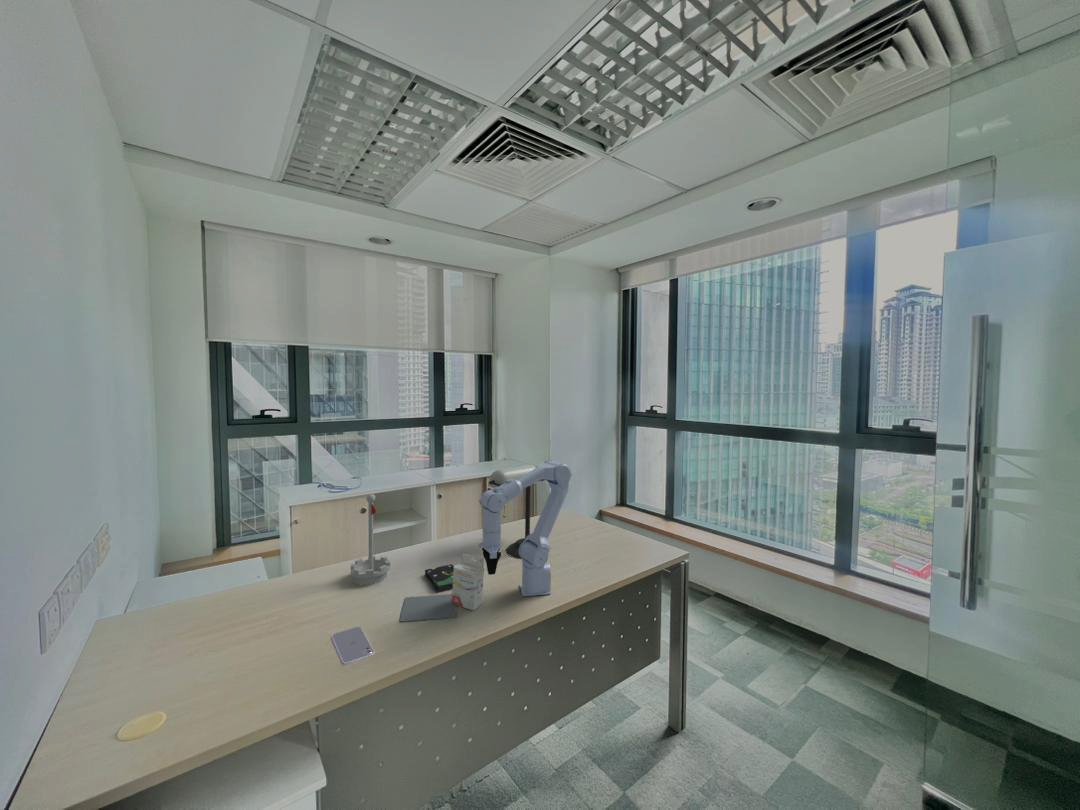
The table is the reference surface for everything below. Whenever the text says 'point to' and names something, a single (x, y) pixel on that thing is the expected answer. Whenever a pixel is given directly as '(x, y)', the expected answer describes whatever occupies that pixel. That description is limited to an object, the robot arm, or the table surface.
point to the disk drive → (441, 577)
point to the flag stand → (370, 558)
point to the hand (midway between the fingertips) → (491, 572)
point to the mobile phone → (352, 645)
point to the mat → (428, 608)
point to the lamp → (516, 473)
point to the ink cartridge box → (468, 582)
